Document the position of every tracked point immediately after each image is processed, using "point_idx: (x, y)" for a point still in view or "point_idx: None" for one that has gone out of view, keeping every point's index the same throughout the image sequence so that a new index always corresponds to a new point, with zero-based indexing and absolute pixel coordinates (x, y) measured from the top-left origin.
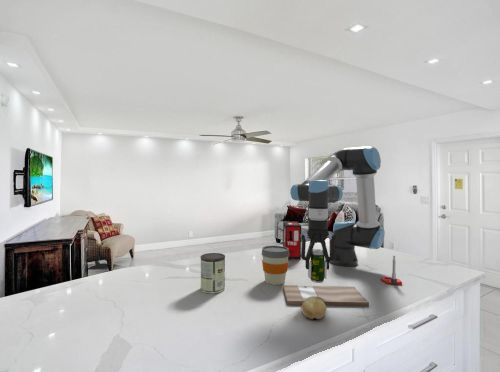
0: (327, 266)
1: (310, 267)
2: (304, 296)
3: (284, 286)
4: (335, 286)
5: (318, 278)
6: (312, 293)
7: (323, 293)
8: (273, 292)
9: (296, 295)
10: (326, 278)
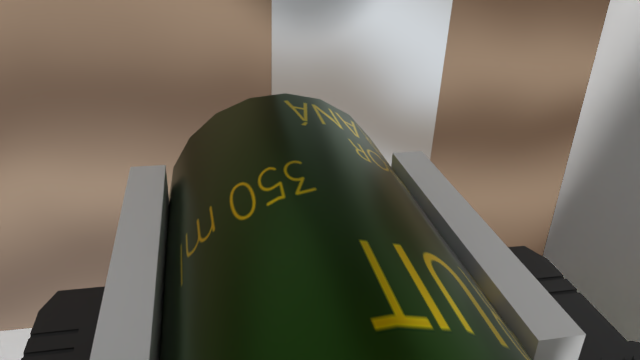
0: (76, 337)
1: (485, 253)
2: (424, 1)
3: (537, 250)
4: (1, 324)
5: (290, 109)
6: (311, 97)
7: (178, 112)
8: (627, 170)
9: (499, 32)
10: (131, 167)
